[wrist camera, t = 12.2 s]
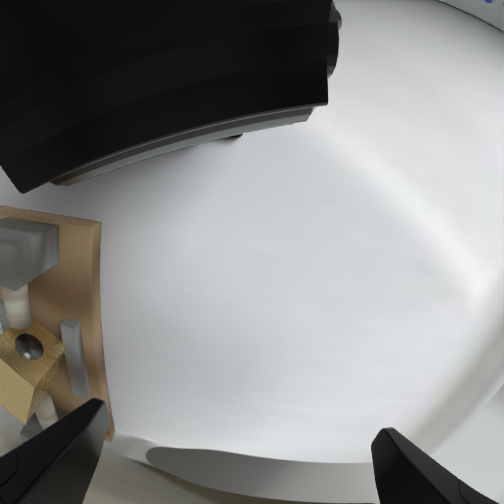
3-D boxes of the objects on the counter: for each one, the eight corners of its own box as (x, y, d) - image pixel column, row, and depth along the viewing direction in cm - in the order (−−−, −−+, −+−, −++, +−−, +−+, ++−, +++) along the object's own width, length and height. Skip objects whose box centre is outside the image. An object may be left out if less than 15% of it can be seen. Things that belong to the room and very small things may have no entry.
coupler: (51, 387, 19) (25, 425, 14) (16, 358, 18) (-14, 392, 14) (67, 345, 18) (34, 387, 13) (27, 311, 17) (-12, 346, 12)
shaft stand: (1, 205, 17) (-56, 224, 11) (101, 221, 18) (45, 250, 12) (35, 401, 23) (9, 440, 17) (115, 431, 24) (96, 479, 18)
